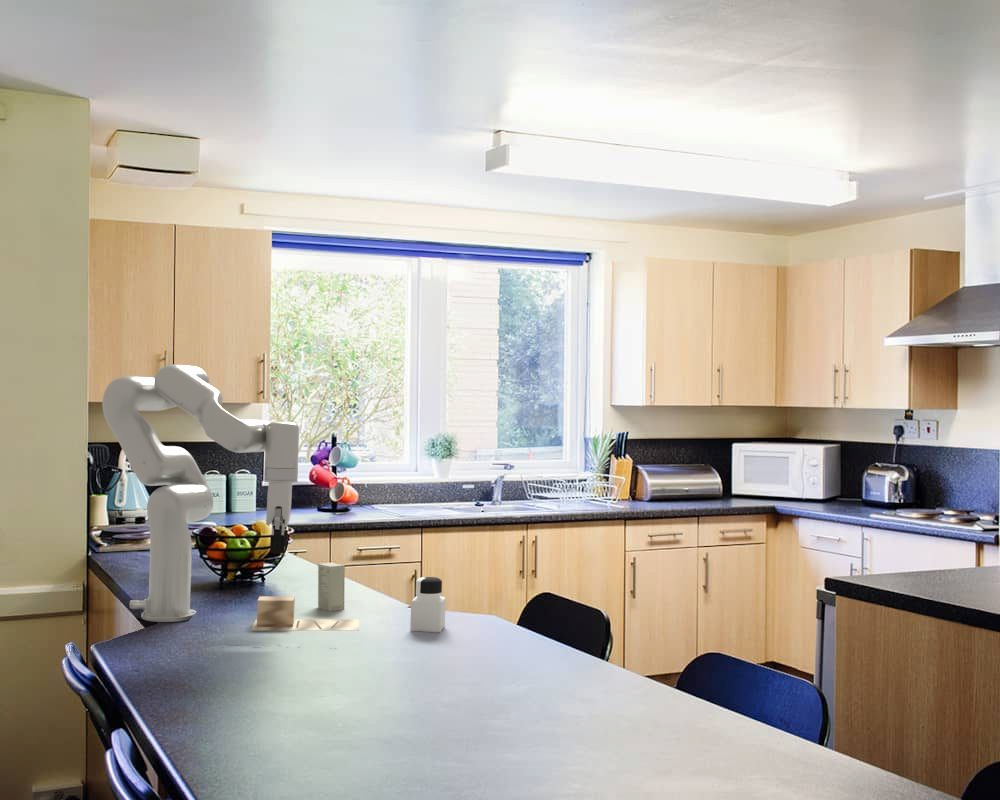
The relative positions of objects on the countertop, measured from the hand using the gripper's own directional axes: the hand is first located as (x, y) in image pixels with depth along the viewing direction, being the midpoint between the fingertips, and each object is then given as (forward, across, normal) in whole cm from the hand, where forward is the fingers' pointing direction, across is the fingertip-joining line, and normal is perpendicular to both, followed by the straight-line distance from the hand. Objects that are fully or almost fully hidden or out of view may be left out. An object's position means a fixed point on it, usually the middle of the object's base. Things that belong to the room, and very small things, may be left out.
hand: (278, 550), depth 241 cm
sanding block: (+17, 0, 0) cm, 17 cm away
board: (+18, 0, +7) cm, 19 cm away
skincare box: (+18, -20, +12) cm, 30 cm away
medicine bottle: (+18, 0, +35) cm, 39 cm away
